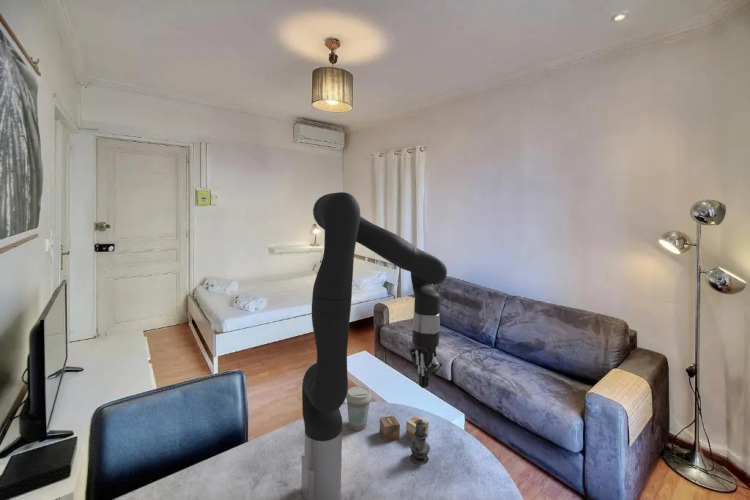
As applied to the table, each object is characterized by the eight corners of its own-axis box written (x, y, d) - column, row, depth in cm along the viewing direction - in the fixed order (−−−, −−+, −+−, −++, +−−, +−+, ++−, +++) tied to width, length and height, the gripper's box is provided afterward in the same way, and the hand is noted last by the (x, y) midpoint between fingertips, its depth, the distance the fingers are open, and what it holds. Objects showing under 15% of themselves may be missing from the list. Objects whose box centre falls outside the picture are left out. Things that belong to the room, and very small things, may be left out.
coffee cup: (341, 430, 112) (341, 395, 111) (350, 416, 120) (351, 383, 119) (365, 435, 110) (366, 400, 108) (373, 421, 118) (374, 387, 117)
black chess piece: (429, 467, 97) (431, 427, 96) (408, 463, 98) (410, 423, 97) (430, 453, 103) (431, 415, 101) (410, 449, 104) (412, 412, 103)
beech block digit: (417, 443, 107) (418, 427, 106) (405, 435, 111) (406, 420, 110) (427, 436, 110) (428, 421, 110) (416, 429, 114) (416, 414, 114)
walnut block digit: (384, 441, 107) (385, 426, 107) (379, 432, 112) (379, 417, 111) (399, 439, 109) (399, 424, 108) (393, 429, 113) (394, 415, 113)
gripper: (402, 322, 100) (400, 379, 102) (429, 337, 89) (426, 400, 91) (423, 319, 104) (420, 374, 106) (451, 333, 92) (448, 394, 94)
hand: (423, 386), depth 98 cm, fingers closed
